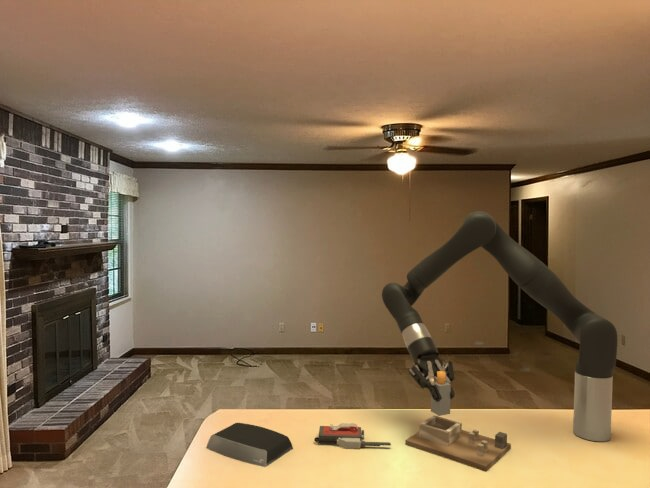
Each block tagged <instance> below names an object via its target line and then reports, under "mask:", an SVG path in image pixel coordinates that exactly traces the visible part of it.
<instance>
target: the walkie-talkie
mask: <svg viewBox="0 0 650 488" xmlns="http://www.w3.org/2000/svg"><path fill="white" fill-rule="evenodd" d="M364 438H365V430H364V429H362V427H361V426H358V424H357V423H344V422H343V423H342V422H341V423H340V424H338V425H337V426H335V425H334V424H332V423H331V424H330V425H319V430H318V437H314V440H313V441H314V442H315V443H318V444H319V445H333V446H335V445H337V446H338V447H341V448H343V449H357V450H360V449H361V447H364V448H365V447H381V446H391V445H392V444H391V442H389V441H388V442H387V441H386V442H384V441H365V440H362V439H364Z"/></svg>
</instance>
